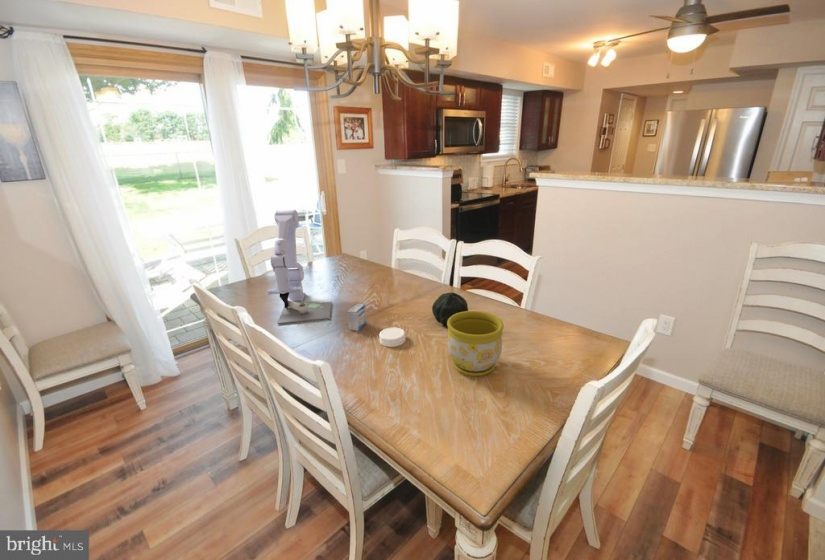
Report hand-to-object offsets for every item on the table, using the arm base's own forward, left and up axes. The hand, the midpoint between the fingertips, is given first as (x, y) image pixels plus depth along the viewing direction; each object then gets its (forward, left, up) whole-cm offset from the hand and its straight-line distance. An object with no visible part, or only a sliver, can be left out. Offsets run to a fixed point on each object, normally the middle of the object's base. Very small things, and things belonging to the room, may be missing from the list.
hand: (287, 307), depth 169 cm
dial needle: (+3, +5, 0) cm, 6 cm away
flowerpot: (+62, +70, -2) cm, 93 cm away
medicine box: (+24, +32, -2) cm, 40 cm away
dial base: (+6, +9, -2) cm, 11 cm away
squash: (+29, +71, -2) cm, 77 cm away
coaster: (+39, +45, -2) cm, 59 cm away
